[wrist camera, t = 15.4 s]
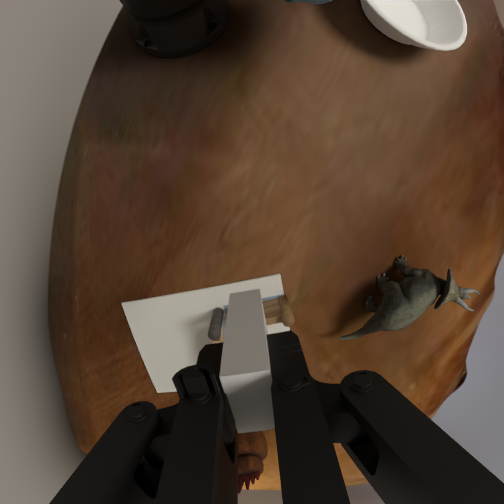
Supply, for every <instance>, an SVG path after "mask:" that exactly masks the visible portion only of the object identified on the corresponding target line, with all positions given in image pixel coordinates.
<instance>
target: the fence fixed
mask: <svg viewBox="0 0 504 504" xmlns="http://www.w3.org/2000/svg"><path fill="white" fill-rule="evenodd" d="M262 303H263V309H264V314H265V320H266V325H272V324H277V323H283V325H284V326H286V327H290V326H292V325H293V324H294V322H295V319H294V316H293V313H292V310H291V308H290V305H289V302H288V299H287V297H286V295H281V296H279V297H278V298H276V299H271V300H266V301H262ZM227 311H228V308H227ZM223 314H224V311H223V309H222V308H219V307H217V308H215V309H214V310H213V314H212V318H211V322H210V326H209V331H208V337H209V338H210V339H211V340H218V339H219V338H220V333H221V327H222V320H223ZM226 319H227V314H226ZM225 327H226V322H225Z"/></svg>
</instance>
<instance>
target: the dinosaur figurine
mask: <svg viewBox="0 0 504 504" xmlns="http://www.w3.org/2000/svg"><path fill="white" fill-rule="evenodd" d="M406 261H407V258H405V259H404V256H403V255H402V256H401V257H400V259H399V258H398V257H397V258H396V261H394V262H395V264H396V267H397V268H398V269H400V271H401V273H402V274H403V275H404V276H405V277H406V278H405V279H404V280H401V281H400V282H399V283H398V284H397V283H396V282H394V281H389V282H388V280H389V278H388V277H387V278H386V274H385V273H383V275H382V277H381V276H380V275H378V276H377V285H378V286H379V288H380V290H382V293H383V294H384V295H383V298H382V302H381V305H377V304H374V301H372V300H371V299H372V296H369V297H368V298H367V301H366V304H365V309H366V310H368V311H370V312H375V314H374V315H373V316H372V317H371V318H370V319H369V320H368V321H367V323H366V324H365V325H364V326H363V327H362V328H361V329H359V330H357V331H356V332H354V333H352V334H349V335H346V336H342V337H340V338H338V339H340V340H348V339H355V338H359V337H361V336H364V335H366V334H370V333H374V332H378V331H396V330H401V329H403V328H405V327H407V326H408V325H410V324H411V323H413V322H414V321H415V320H416V319H417V318H419V317H420V316H421V315H422V314H423V313H424V312H425V311H426V310H427V308H428V307H429V306H430V305H432V304H433V303H434V301H435V300H436V298H437V297H438V296H439V294H440V295H441V296H440V297H439V299H438V300H437V302H436V304H435V307H434V308H435V309H436V310H437V309H438V308H439V307H440V306H442V305H443V304H444V303H446V302H449V301H454V302H456V303H458V304H459V305H460V306H462V307H463V308H465V309H467V310H469V311H474V310H472V309H470V308H469V307H468V306H467V305H466V304H465V303H464V302H463V300H462V299H470V297H469V296H468V294H467V293H472V292H475V293H477V294H479V295H480V293H479V292H478V291H476V290H474V289H467V288H461V287H459V286H458V285H457V284H456V283H455V281H454V278H453V276H452V274H451V269H450V268H449V269H448V272H447V281H445V280H443V279H441V278H438V277H436V276H435V275H434V274H433V273H431V272H430V270H428V269H418V268H409V267H408V266H406Z"/></svg>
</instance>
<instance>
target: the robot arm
mask: <svg viewBox="0 0 504 504" xmlns="http://www.w3.org/2000/svg"><path fill="white" fill-rule="evenodd" d="M285 1H286V2H304V3H311V4H325V3H327V2H330V1H332V0H285ZM120 2H121V3H122V4H123V5H124V7H125V8H126V9H127V11H128V12H129V28H130V33H131V35H132V38H133V39H134V41H135V42H136V43H137V44H138V46H139V47H140V48H141V49H142V50H143V51H145V52H147V53H148V54H151V55H153V56H157V57H163V58H175V57H182V56H186V55H190V54H193V53H195V52H198V51H200V50H202V49H204V48H205V47H207V46H208V45H210V44H211V43H212V42H214V41H215V40H216V39H217V38H218V37H219V36H220V35H221V33H222V32H223V30H224V29H225V27H226V25H227V22H228V17H229V11H228V3H227V0H120ZM172 381H173V383H174V386H175V388H176V390H177V393H178V395H179V398H180V400H179V403H177V404H175V405H173V406H170V407H166V408H162V409H158V410H157V408H156V407H155V406H154V405H153V403H150V402H147V401H139V402H135V403H132V404H130V405H128V406H126V407H125V408H124V409H123V410H122V411H121V412H120V414H119V415H118V416H117V418H116V419H115V420H114V421H113V423H112V424H111V425H110V427H109V428H108V429H107V430H106V432H105V433H104V434H103V435H102V437H101V438H100V439H99V441H98V442H97V443H96V444H95V446H94V447H93V448H92V450H91V451H90V452H89V453H88V455H87V456H86V457H85V458H84V460H83V461H82V462H81V464H80V465H79V466H78V467H77V469H76V470H75V471H74V473H73V474H72V475H71V477H70V478H69V479H68V480H67V482H66V483H65V484H64V486H63V487H62V488H61V489H60V491H59V492H58V493H57V495H56V496H55V497H54V498H53V500H52V501H51V502H50V504H238V503H237V502H238V442H237V439H236V436H235V426H236V429H237V432H238V433H246V432H255V431H263V430H270V429H275V433H276V443H277V452H278V461H279V471H280V480H281V490H282V498H283V504H350V501H349V497H348V494H347V490H346V487H345V483H344V480H343V476H342V473H341V469H340V466H339V462H338V459H337V455H336V452H335V448H334V445H333V443H341V445H342V446H343V448H344V449H345V451H346V452H347V453H348V455H349V456H350V457H351V459H352V460H353V462H354V463H355V464H356V466H357V467H358V468H359V470H360V471H361V472H362V474H363V475H364V476H365V478H366V479H367V480H368V482H369V483H370V484H371V486H372V487H373V488H374V490H375V491H376V492H377V494H378V495H379V496H380V498H381V499H382V500H383V501H384V503H385V504H504V483H503V482H502V481H501V480H499V479H498V478H497V477H496V476H495V475H493V474H492V473H491V472H490V471H489V470H488V469H487V468H486V467H484V466H483V465H482V464H481V463H480V462H479V461H477V460H476V459H475V458H474V457H473V456H472V455H470V454H469V453H468V452H467V451H466V450H465V449H464V448H462V447H461V446H460V445H459V444H458V443H457V442H456V441H454V440H453V439H452V438H451V437H450V436H449V435H448V434H446V433H445V432H444V431H443V430H442V429H441V428H440V427H439V426H437V425H436V424H435V423H434V422H433V421H432V420H431V419H430V418H428V417H427V416H426V415H425V414H424V413H423V412H422V411H420V410H419V409H418V408H417V407H416V406H415V405H414V404H413V403H411V402H410V401H409V400H408V399H407V398H406V397H405V396H403V395H402V394H401V393H400V392H399V391H398V390H397V389H396V388H394V387H393V386H392V385H391V384H390V383H389V382H388V381H387V380H385V379H384V378H383V377H382V376H381V375H379V374H378V373H376V372H373V371H368V370H361V371H356V372H352V373H350V374H349V375H347V376H345V377H344V379H343V380H342V381H341V384H328V383H322V382H319V381H317V380H315V379H313V378H312V377H311V375H310V374H309V371H308V368H307V364H306V361H305V358H304V355H303V351H302V348H301V345H300V342H299V338H298V336H297V335H296V334H295V333H293V332H292V331H291V330H290V331H285V332H279V333H273V334H268V331H267V325H266V320H265V314H264V309H263V303H262V298H261V292H260V289H254V290H248V291H242V292H236V293H230V295H229V303H228V311H227V319H226V327H225V335H224V342H221V343H214V344H206V345H205V346H204V347H203V348H202V349H201V350H200V352H199V355H198V359H197V363H196V365H192V366H187V367H185V368H183V369H181V370H179V371H178V372H177V373H175V375H174V376H173V378H172Z"/></svg>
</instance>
